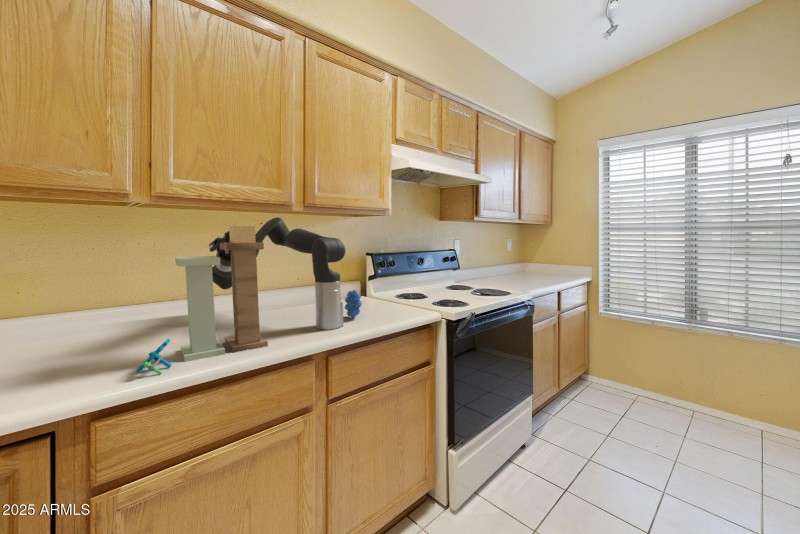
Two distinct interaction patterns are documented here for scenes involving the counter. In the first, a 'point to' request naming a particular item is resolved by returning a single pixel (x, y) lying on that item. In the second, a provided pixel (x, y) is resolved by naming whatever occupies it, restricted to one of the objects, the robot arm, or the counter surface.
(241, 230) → the tan wooden block
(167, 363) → the tinkertoy rod frame
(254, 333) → the tall stand
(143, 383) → the counter surface
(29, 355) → the counter surface
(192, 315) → the short stand
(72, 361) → the counter surface
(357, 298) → the grapes
